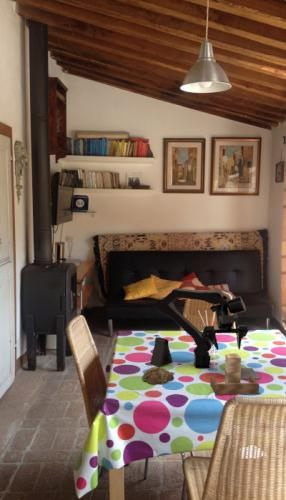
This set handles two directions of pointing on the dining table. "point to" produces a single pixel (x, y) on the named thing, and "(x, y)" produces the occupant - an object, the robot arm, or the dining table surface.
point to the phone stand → (161, 353)
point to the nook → (235, 387)
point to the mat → (248, 374)
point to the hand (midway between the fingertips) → (228, 349)
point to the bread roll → (157, 376)
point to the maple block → (232, 368)
